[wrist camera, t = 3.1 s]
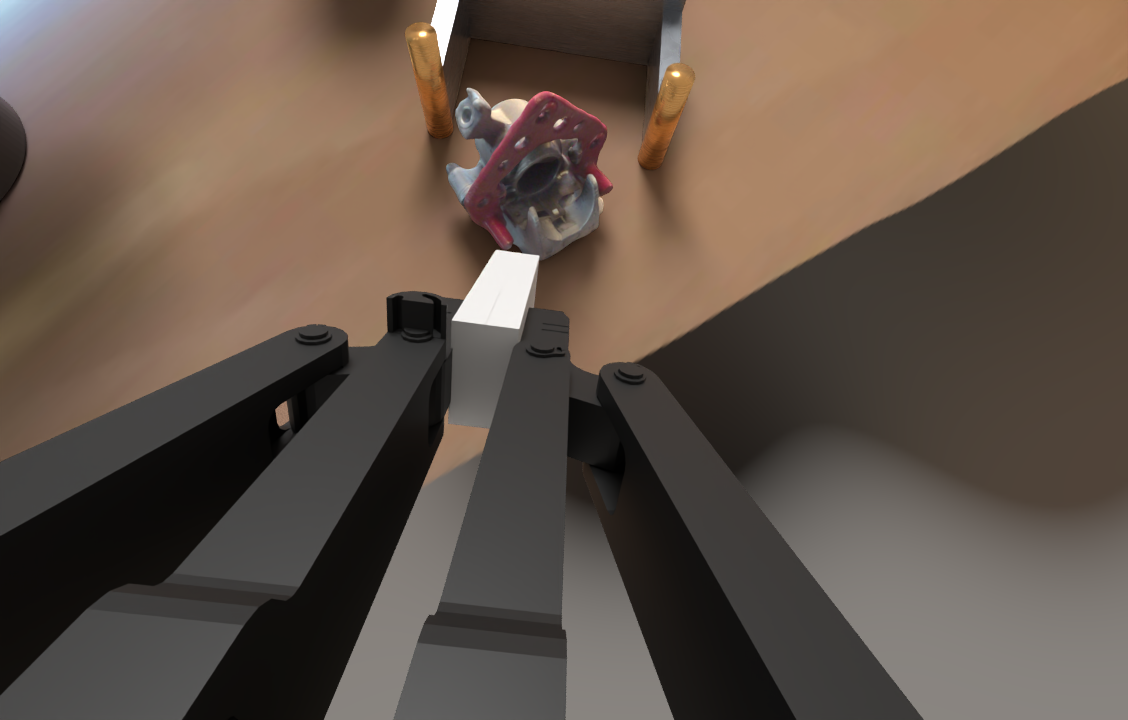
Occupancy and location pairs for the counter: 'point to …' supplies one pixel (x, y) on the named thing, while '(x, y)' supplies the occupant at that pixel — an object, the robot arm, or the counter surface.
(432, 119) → the bracket
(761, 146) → the counter surface
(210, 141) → the counter surface
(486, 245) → the counter surface
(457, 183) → the brake caliper
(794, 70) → the counter surface
